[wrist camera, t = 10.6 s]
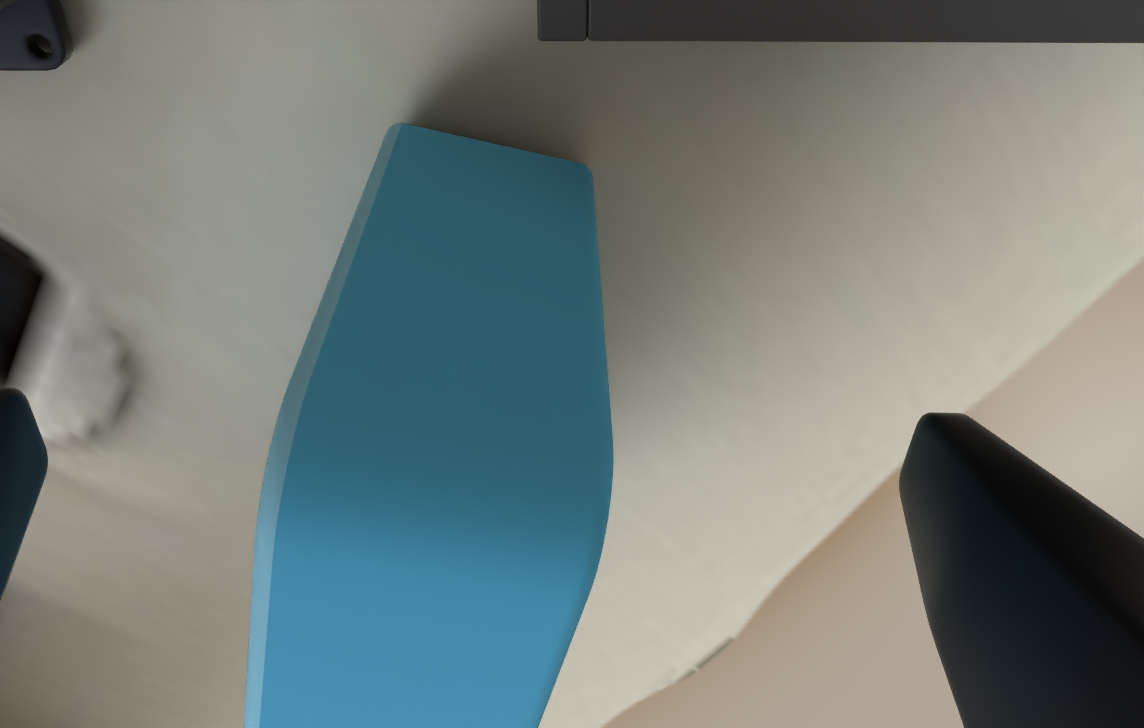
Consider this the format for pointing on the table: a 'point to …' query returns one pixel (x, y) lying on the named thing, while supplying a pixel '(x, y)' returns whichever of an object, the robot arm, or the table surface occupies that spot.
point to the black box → (843, 20)
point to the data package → (438, 452)
